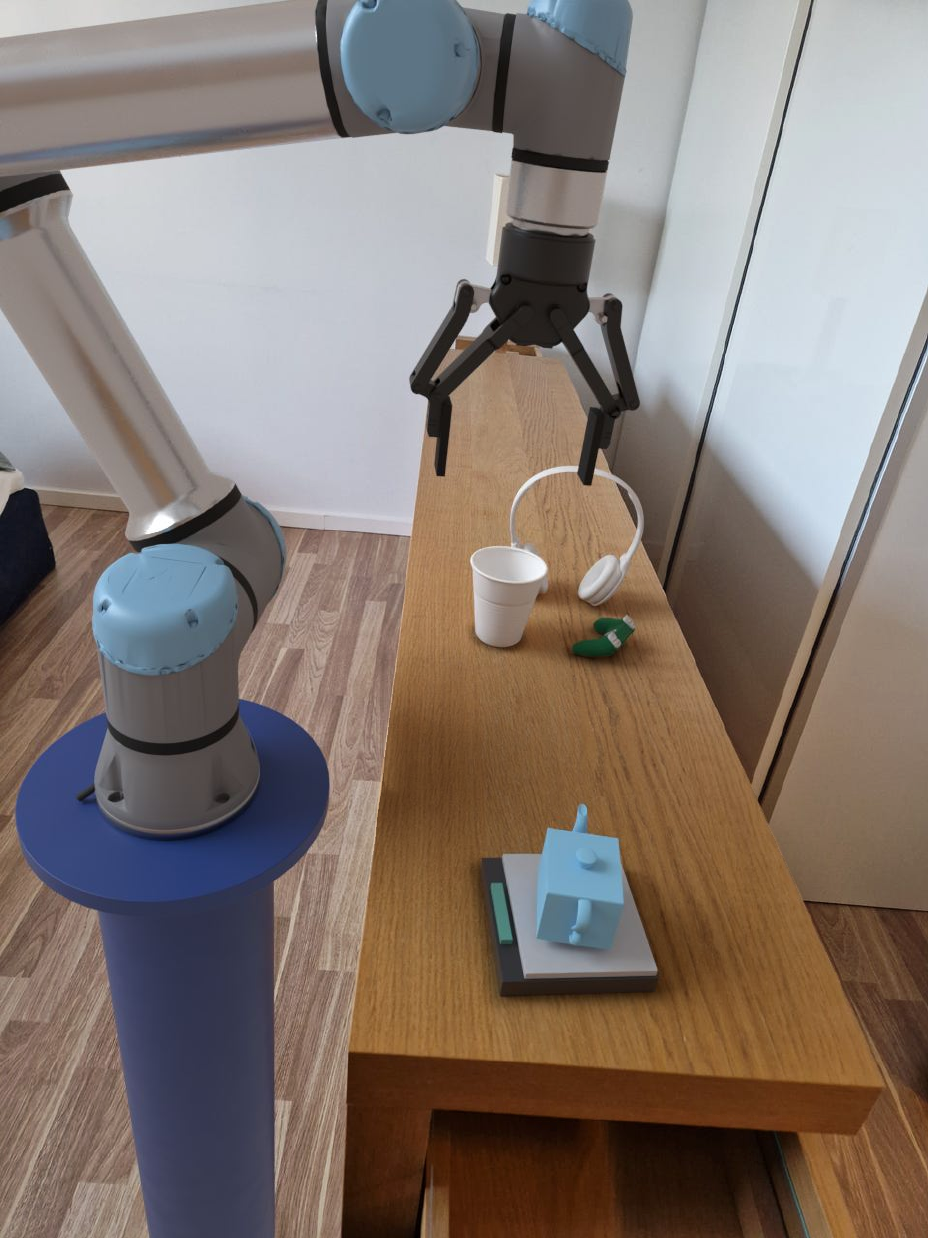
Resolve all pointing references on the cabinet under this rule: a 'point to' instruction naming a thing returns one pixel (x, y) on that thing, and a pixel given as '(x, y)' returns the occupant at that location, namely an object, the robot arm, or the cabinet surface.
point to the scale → (553, 963)
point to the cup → (504, 592)
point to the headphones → (604, 572)
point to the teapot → (579, 887)
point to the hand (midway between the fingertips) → (512, 475)
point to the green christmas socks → (606, 637)
